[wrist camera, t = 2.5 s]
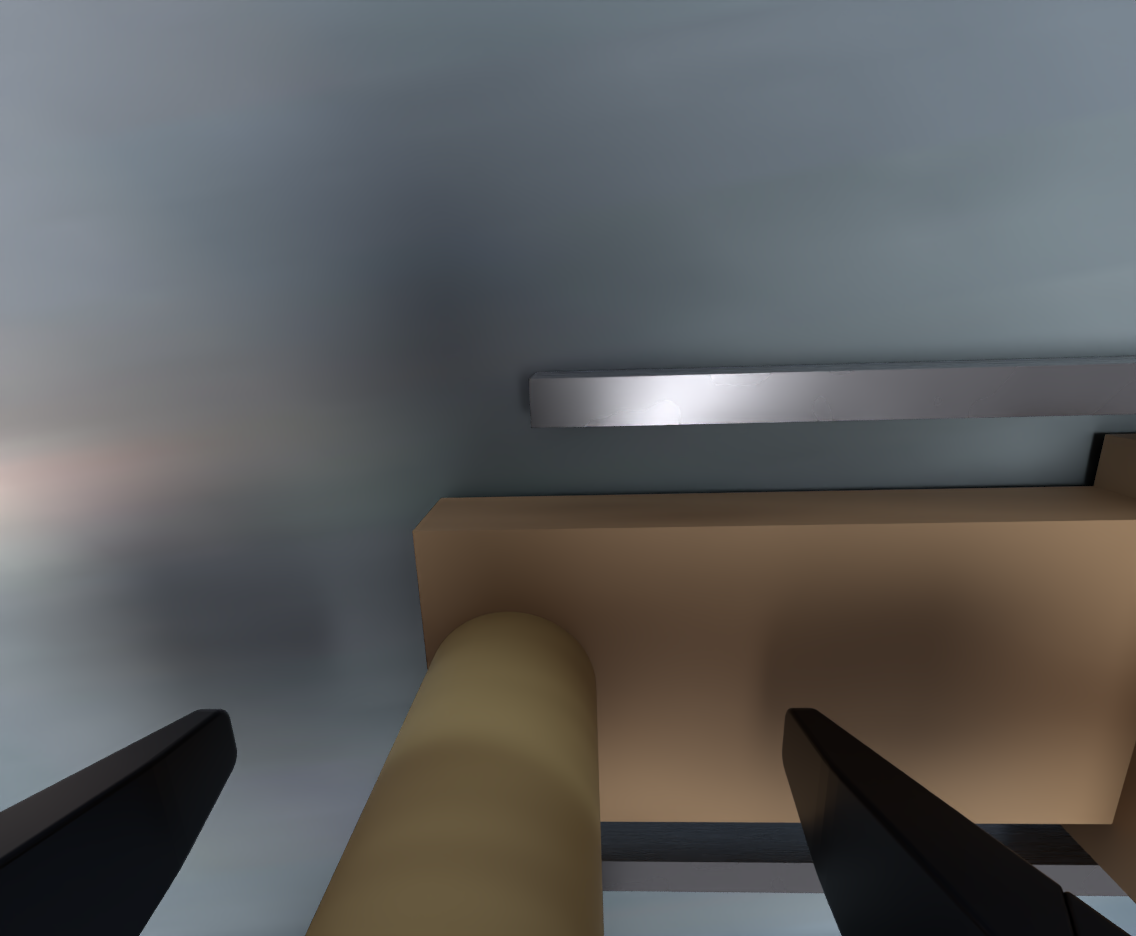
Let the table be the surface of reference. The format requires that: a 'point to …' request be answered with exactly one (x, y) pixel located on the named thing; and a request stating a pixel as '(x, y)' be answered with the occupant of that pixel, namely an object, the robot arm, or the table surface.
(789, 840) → the clamp rails
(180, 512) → the table surface
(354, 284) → the table surface
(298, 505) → the table surface
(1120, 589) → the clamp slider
